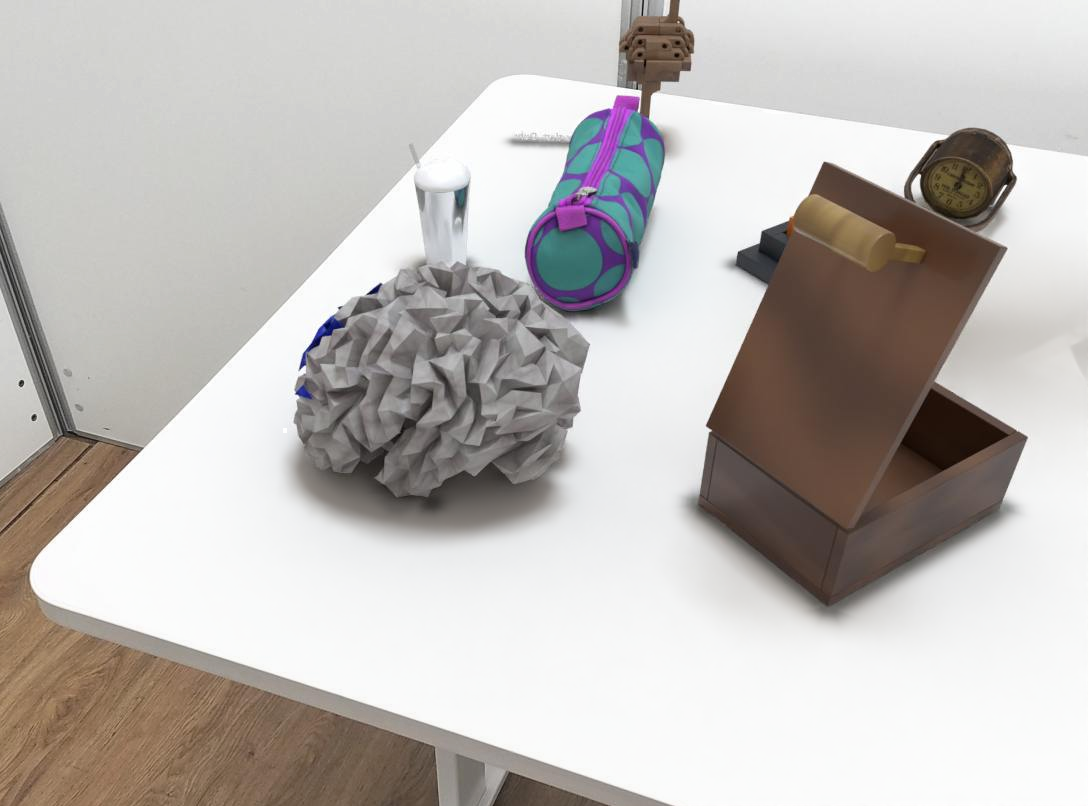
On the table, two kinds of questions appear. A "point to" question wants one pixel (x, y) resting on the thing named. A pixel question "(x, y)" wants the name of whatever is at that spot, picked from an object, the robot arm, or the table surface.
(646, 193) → the pencil case
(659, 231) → the table surface
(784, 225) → the push button base
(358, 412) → the educational model
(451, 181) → the milkshake
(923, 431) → the brown wooden case body
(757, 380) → the case lid
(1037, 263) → the table surface
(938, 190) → the vintage brass clock
